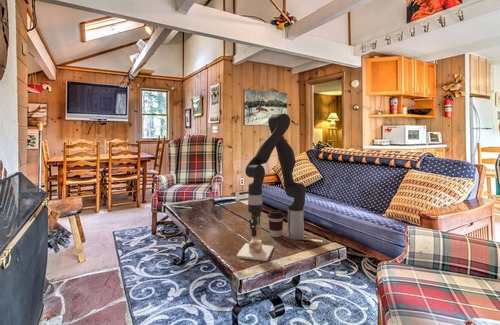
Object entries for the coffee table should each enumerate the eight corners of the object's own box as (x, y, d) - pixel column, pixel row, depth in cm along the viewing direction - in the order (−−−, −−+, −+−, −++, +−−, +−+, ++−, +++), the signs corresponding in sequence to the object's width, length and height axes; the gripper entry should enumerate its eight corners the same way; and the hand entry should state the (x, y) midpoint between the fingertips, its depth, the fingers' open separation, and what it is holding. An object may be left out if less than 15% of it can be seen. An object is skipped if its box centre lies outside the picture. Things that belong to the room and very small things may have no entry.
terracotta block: (260, 234, 145) (260, 224, 144) (258, 237, 140) (258, 228, 139) (251, 233, 146) (251, 224, 145) (249, 236, 141) (249, 227, 141)
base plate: (273, 248, 149) (273, 245, 149) (267, 261, 134) (267, 258, 134) (245, 245, 154) (245, 243, 153) (236, 257, 138) (236, 255, 138)
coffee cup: (275, 239, 161) (275, 214, 160) (264, 235, 169) (264, 211, 167) (287, 235, 167) (287, 211, 166) (275, 231, 175) (275, 208, 173)
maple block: (261, 248, 146) (261, 239, 145) (259, 253, 140) (259, 243, 140) (251, 247, 147) (251, 238, 146) (249, 252, 142) (249, 242, 141)
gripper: (259, 206, 133) (259, 240, 135) (265, 199, 147) (265, 230, 149) (244, 205, 135) (244, 238, 137) (251, 199, 149) (252, 229, 151)
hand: (255, 234), depth 143 cm, fingers closed on terracotta block, 5 cm apart
